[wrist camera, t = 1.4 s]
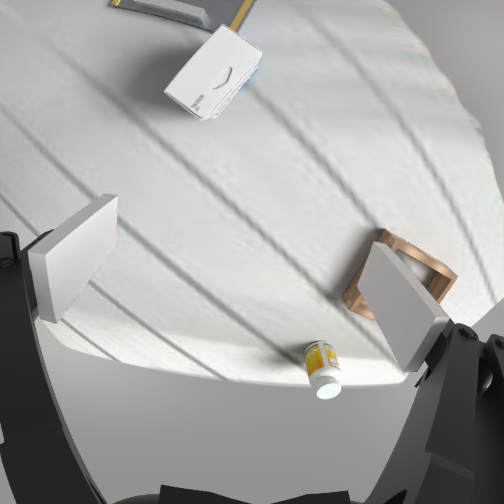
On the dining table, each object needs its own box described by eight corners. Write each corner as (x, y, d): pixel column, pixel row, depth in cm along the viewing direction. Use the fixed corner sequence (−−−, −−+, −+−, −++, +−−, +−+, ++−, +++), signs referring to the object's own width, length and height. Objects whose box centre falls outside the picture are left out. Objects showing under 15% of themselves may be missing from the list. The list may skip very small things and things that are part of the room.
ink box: (228, 47, 32) (222, 20, 21) (258, 70, 33) (265, 52, 23) (183, 97, 34) (160, 92, 24) (214, 120, 36) (202, 123, 25)
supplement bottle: (334, 338, 51) (348, 378, 43) (330, 360, 54) (342, 399, 45) (304, 341, 51) (314, 382, 43) (302, 362, 53) (310, 403, 45)
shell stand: (342, 295, 47) (349, 310, 44) (384, 228, 43) (396, 239, 39) (406, 321, 51) (415, 334, 47) (446, 265, 46) (458, 276, 42)
